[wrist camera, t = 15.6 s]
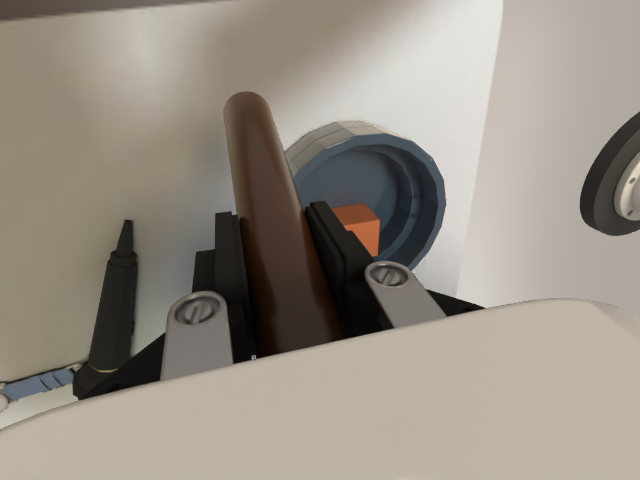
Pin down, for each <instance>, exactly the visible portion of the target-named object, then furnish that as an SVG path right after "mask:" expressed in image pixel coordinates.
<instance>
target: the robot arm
mask: <svg viewBox="0 0 640 480" xmlns="http://www.w3.org/2000/svg"><path fill="white" fill-rule="evenodd" d="M614 207H615V211H616V212H617V214H618V215H620V216H621V217H623V218H626V219H629V220H634V221H637V220H640V151H639V152H638V153H637V154H636V155H635V157H634V158H633V159H632V160H631V162H630V163H629V164H628V166H627V167H626V169H625V170H624V172H623V174H622V176H621V178H620V180H619V182H618V184H617V187H616V190H615V194H614ZM305 214H306V217H307V220H308V223H309V226H310V229H311V232H312V235H313V237H314V240H315V243H316V246H317V249H318V252H319V255H320V258H321V261H322V264H323V267H324V270H325V273H326V276H327V279H328V282H329V285H330V287H331V290H332V293H333V296H334V299H335V302H336V305H337V308H338V311H339V314H340V317H341V320H342V323H343V326H344V329H345V332H346V334H347V337H348V339H344V340H340V341H335V342H331V343H326V344H322V345H317V346H313V347H308V348H304V349H299V350H295V351H290V352H286V353H281V354H277V355H272V356H268V357H263V358H259V359H254V360H251V356H253V355H256V352H255V345H254V337H253V330H252V323H253V320H252V313H251V305H250V298H249V291H248V284H247V276H246V269H245V262H244V255H243V248H242V240H241V233H240V226H239V219H238V215H232V213H231V211H230V212H222V213H215V249H213V250H206V251H198V252H196V257H195V267H194V277H193V287H192V293H191V294H188V295H186V296H184V297H182V298H180V299H179V300H178V301H176V302H175V303H174V304H173V305H172V307H171V308H170V309H169V312H168V316H167V324H166V332H165V333H164V334H162V335H161V336H160V337H158V338H157V339H156V340H154V341H153V342H152V343H151V344H149V345H148V346H147V347H145V348H144V349H143V350H141V351H140V352H139V353H138V354H136V355H135V356H134V357H132V358H131V359H130V360H128V361H127V362H126V363H125V364H123V365H122V366H121V367H119V368H118V369H117V370H116V371H114V372H113V373H112V374H110V375H109V376H108V377H106V378H105V379H104V380H103V381H101V382H100V383H99V384H97V385H96V386H95V387H93V388H92V389H91V390H90V391H89V392H87V393H86V394H85V395H84V396H83V397H82V398H81V399H80V400H79V401H76V402H73V403H70V404H67V405H64V406H60V407H57V408H54V409H51V410H48V411H45V412H42V413H39V414H37V415H34V416H32V417H29V418H27V419H24V420H22V421H19V422H17V423H14V424H12V425H9V426H7V427H4V428H2V429H0V480H640V317H639V316H637V315H635V314H633V313H631V312H629V311H627V310H625V309H623V308H620V307H618V306H614V305H611V304H607V303H602V302H596V301H590V300H581V299H570V298H563V299H562V298H559V299H558V298H554V299H540V300H530V301H524V302H518V303H513V304H507V305H501V306H496V307H491V308H484V307H482V306H479V305H476V304H472V303H469V302H466V301H463V300H459V299H456V298H453V297H450V296H447V295H444V294H440V293H437V292H434V291H431V290H427V289H425V288H424V287H423V286H422V284H421V283H420V282H419V281H418V279H417V278H416V277H415V276H414V274H413V273H412V272H411V271H410V270H409V269H408V268H407V267H405V266H403V265H402V264H399V263H396V262H391V261H379V262H376V261H375V260H374V258H373V257H372V256H371V254H370V253H369V252H368V250H367V249H366V248H365V246H364V245H363V244H362V243H361V241H360V240H359V239H358V237H357V236H356V235H355V233H354V232H353V231H352V230H348V231H347V230H346V229H345V227H344V226H343V224H342V223H341V222H340V220H339V219H338V218H337V216H336V215H335V213H334V212H333V211H332V209H331V208H330V206H329V205H328V204H327V202H326V201H317V202H310V206H307V207H305Z"/></svg>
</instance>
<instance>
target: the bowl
mask: <svg viewBox="0 0 640 480" xmlns="http://www.w3.org/2000/svg"><path fill="white" fill-rule="evenodd" d="M285 155H286V158H287V161H288V164H289V167H290V170H291V173H292V176H293V179H294V182H295V185H296V188H297V190H298V193H299V196H300V199H301V202H302V205H303V208H304V211H305V207H307V206H310V202H317V201H326V202H327V204H328V205H329V206H330V208H336V207H342V206H348V205H355V204H361V203H364V204H365V205H366V206H367V207H368V208H369V209H370V210H371V211H372V212H373V213H374V214H375V215H376V216H377V218H378V219H379V220H380V225H379V242H378V256H373V258H374V260H375V261H376V262H379V261H391V262H396V263H399V264H402V265H403V266H405V267H407V268H408V269H409V270H410V271H412V270H413V269H414V268H415V267H416V266H417V265H418V263H419V262H420V261H421V260H422V259H423V257H424V256H425V255H426V254H427V253H428V252H429V250H430V248H431V246H432V244H433V242H434V240H435V238H436V236H437V235H438V233H439V231H440V229H441V226H442V221H443V216H444V212H445V207H446V198H445V188H444V180H443V177H442V176H441V174H440V172H439V170H438V168H437V166H436V164H435V162H434V160H433V158H432V157H431V156H430V155H429V154H427V153H426V152H425V151H424V150H423V149H422V148H420V147H419V146H418V145H417V144H416V143H414V142H413V141H411V140H409V139H407V138H405V137H402V136H400V135H398V134H396V133H394V132H391V131H389V130H387V129H385V128H382V127H379V126H376V125H373V124H370V123H367V122H363V121H346V122H334V123H331V124H329V125H326V126H324V127H322V128H319V129H317V130H314V131H312V132H309V134H306V135H305V136H304V137H303V138H302V139H301V140H299V141H298V142H297V143H296V144H295V145H294V146H292V147H291V148H290V149H289V150H288V151H287V152H286V153H285Z"/></svg>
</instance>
